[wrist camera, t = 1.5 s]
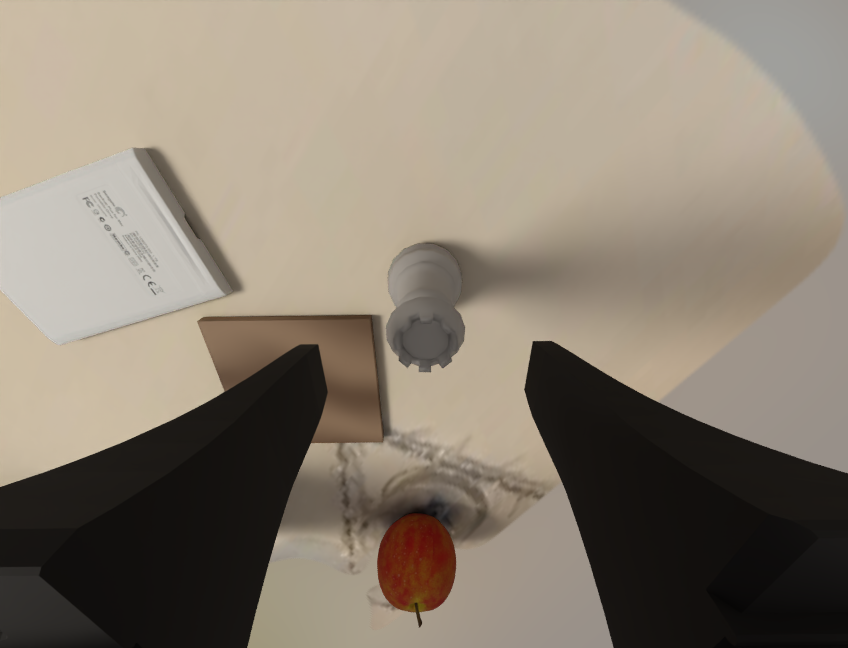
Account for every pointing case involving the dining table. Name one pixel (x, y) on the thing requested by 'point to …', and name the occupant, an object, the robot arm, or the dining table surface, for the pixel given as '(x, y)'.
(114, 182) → the external hard drive
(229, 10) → the dining table surface
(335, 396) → the walnut coaster
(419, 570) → the fruit
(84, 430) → the dining table surface
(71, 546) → the robot arm
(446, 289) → the rook chess piece
